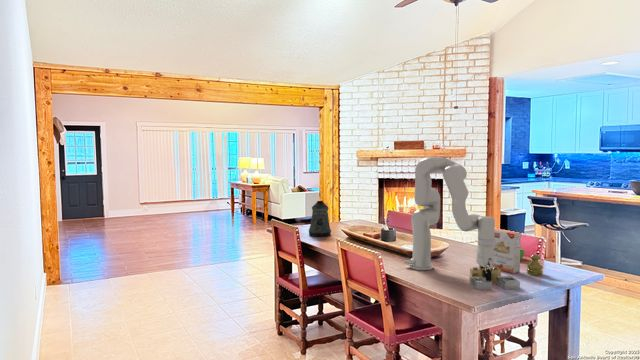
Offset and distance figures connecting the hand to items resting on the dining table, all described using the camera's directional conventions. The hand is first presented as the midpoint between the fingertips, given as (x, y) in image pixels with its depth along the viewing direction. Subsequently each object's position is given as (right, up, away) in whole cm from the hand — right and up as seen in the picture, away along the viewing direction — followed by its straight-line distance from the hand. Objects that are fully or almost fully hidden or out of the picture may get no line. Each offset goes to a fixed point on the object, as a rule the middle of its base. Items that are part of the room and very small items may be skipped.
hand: (485, 278), depth 222 cm
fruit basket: (+32, +2, +43) cm, 53 cm away
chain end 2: (+7, -2, -8) cm, 11 cm away
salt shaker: (+29, 0, +12) cm, 32 cm away
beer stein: (-80, +7, +117) cm, 142 cm away
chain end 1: (-6, -2, -9) cm, 11 cm away
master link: (0, -1, 0) cm, 1 cm away
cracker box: (+17, 0, +19) cm, 25 cm away
